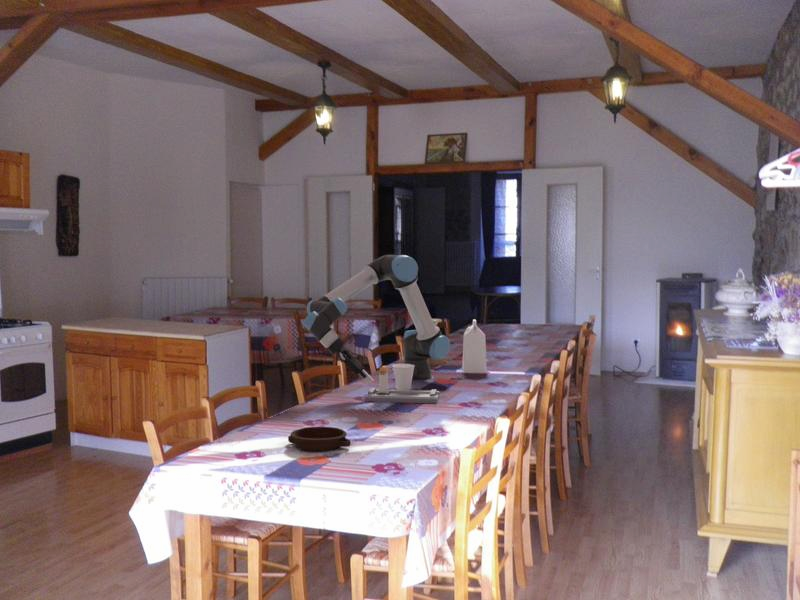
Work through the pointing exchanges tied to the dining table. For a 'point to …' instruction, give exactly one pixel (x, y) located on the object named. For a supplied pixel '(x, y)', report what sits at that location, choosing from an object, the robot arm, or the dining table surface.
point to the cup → (403, 376)
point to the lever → (383, 381)
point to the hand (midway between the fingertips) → (371, 382)
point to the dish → (319, 438)
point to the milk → (474, 350)
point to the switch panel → (404, 396)
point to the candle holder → (436, 362)
